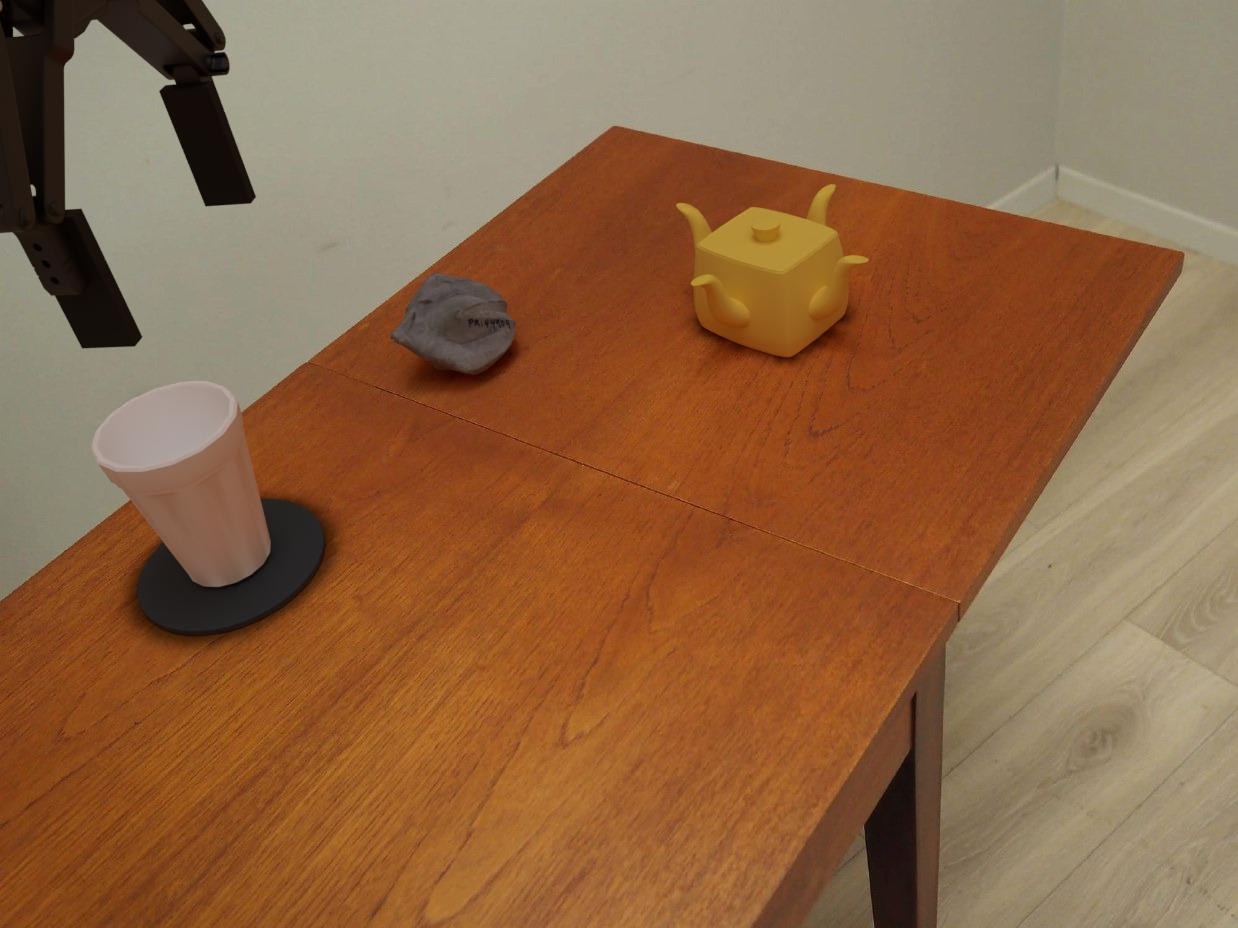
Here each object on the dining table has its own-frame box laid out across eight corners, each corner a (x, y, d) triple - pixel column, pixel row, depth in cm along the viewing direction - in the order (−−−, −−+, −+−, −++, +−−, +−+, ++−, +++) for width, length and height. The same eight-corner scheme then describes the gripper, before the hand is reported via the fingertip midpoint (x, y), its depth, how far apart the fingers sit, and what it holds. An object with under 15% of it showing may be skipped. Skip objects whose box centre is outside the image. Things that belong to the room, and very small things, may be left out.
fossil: (456, 410, 99) (434, 331, 94) (384, 382, 104) (359, 305, 99) (541, 343, 105) (523, 265, 100) (469, 319, 110) (449, 244, 105)
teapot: (870, 353, 97) (869, 250, 91) (701, 377, 98) (689, 276, 92) (837, 266, 108) (834, 169, 102) (686, 288, 109) (674, 193, 103)
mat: (212, 664, 80) (209, 659, 80) (103, 589, 88) (100, 584, 88) (363, 541, 88) (361, 537, 87) (251, 482, 96) (249, 477, 95)
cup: (323, 526, 89) (266, 387, 81) (245, 621, 82) (174, 480, 74) (219, 507, 93) (154, 372, 85) (136, 596, 86) (57, 459, 78)
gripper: (-158, -143, 35) (128, 417, 48) (192, -280, 54) (329, 151, 67) (-360, -115, 37) (-29, 421, 50) (49, -257, 55) (210, 159, 69)
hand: (177, 267), depth 59 cm, fingers open, 13 cm apart
